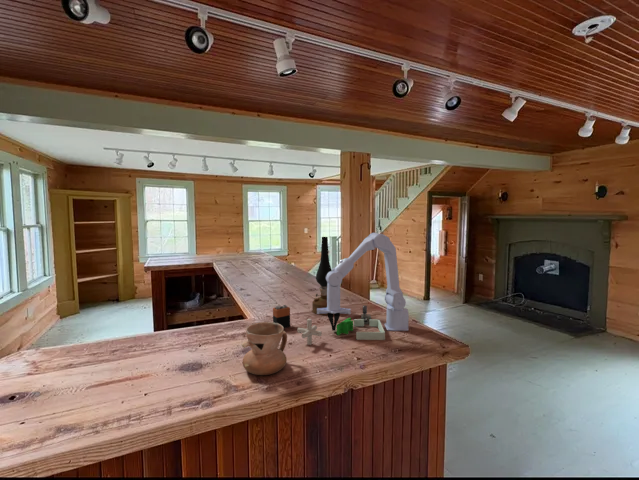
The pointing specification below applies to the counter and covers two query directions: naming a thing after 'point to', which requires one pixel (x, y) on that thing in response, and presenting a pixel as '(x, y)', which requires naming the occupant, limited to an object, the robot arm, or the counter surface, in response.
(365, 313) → the pin
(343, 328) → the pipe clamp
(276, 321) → the battery
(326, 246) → the oil lamp
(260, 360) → the ceramic jug
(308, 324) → the pipe connector
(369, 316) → the pin mount
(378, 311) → the counter surface
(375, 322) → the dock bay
